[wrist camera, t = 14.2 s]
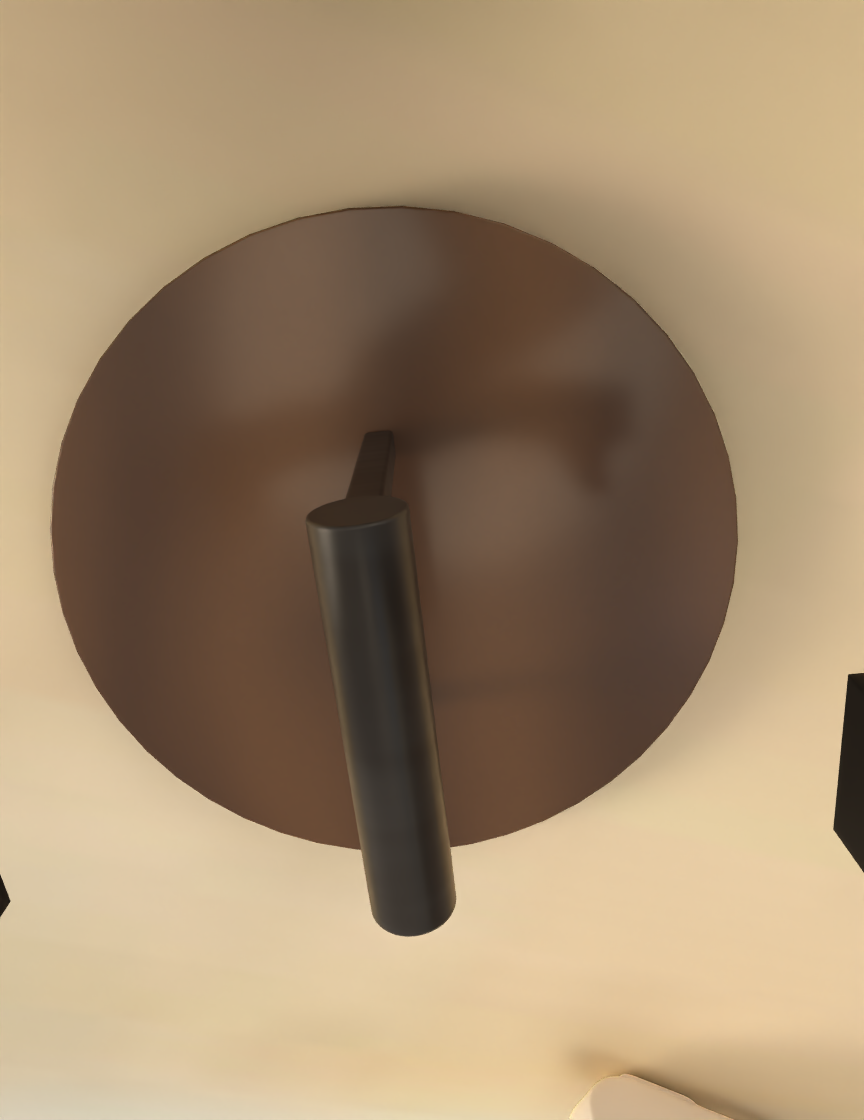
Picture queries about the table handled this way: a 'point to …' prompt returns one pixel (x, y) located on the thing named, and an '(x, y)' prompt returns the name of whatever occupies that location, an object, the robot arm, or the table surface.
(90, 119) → the table surface
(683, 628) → the lid
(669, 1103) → the cable organizer
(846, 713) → the robot arm
